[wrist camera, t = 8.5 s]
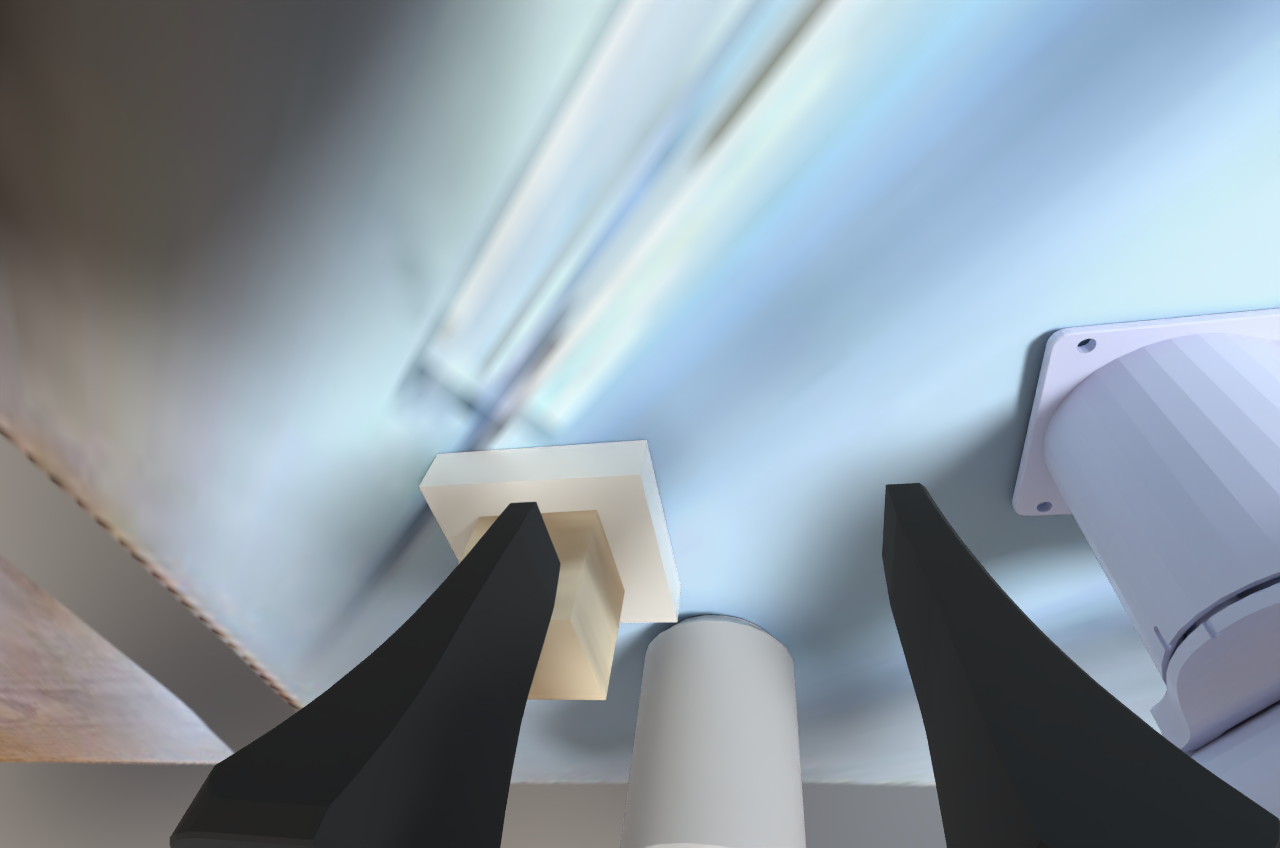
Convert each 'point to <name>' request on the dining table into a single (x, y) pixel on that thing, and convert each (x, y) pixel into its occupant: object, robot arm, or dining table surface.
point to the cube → (576, 608)
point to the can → (715, 741)
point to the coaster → (569, 507)
